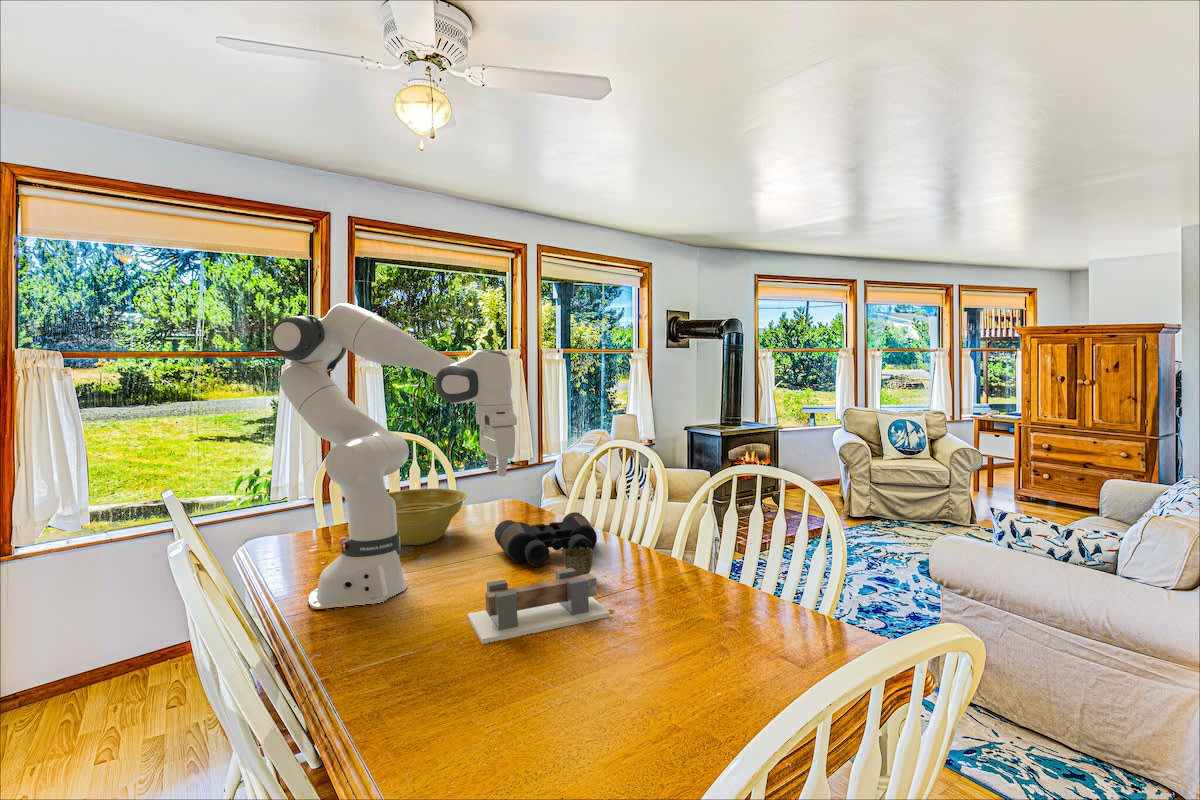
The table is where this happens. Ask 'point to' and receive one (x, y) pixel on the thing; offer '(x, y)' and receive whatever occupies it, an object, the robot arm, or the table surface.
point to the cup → (578, 560)
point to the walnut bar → (541, 593)
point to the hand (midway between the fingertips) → (496, 472)
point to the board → (536, 611)
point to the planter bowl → (425, 513)
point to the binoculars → (544, 538)
